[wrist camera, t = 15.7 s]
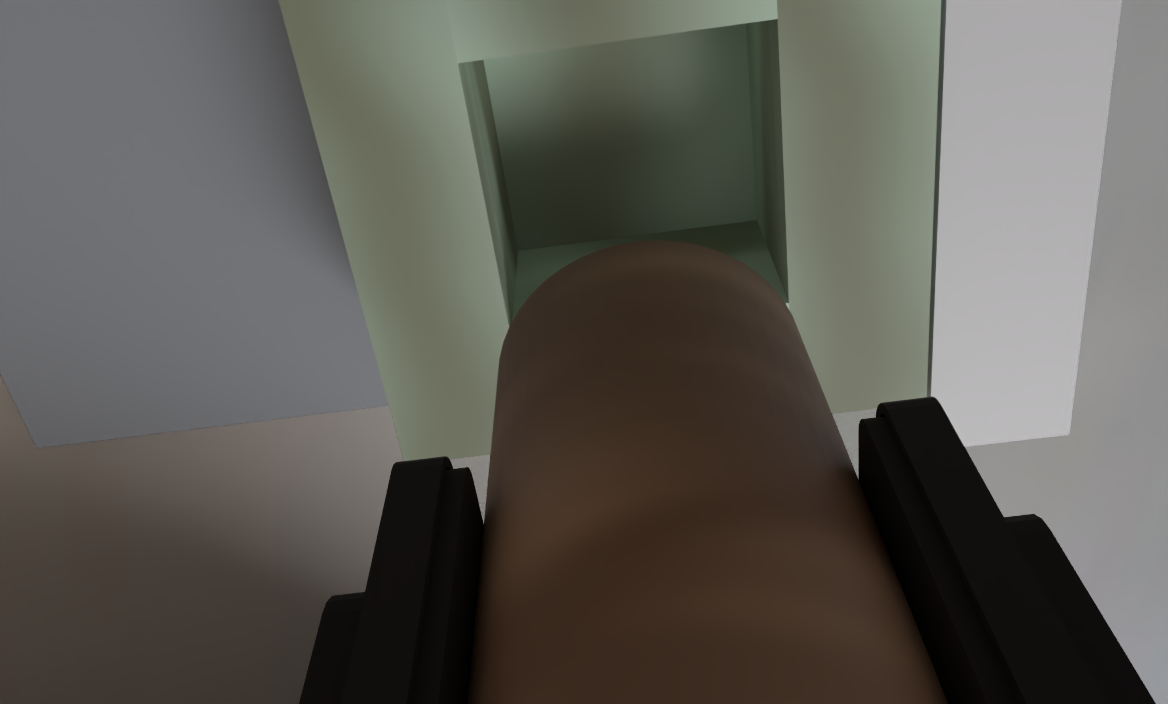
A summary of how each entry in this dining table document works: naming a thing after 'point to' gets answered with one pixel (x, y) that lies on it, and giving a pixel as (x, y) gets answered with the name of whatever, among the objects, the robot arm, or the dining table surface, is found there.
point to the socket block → (623, 172)
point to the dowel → (678, 504)
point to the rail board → (319, 257)
